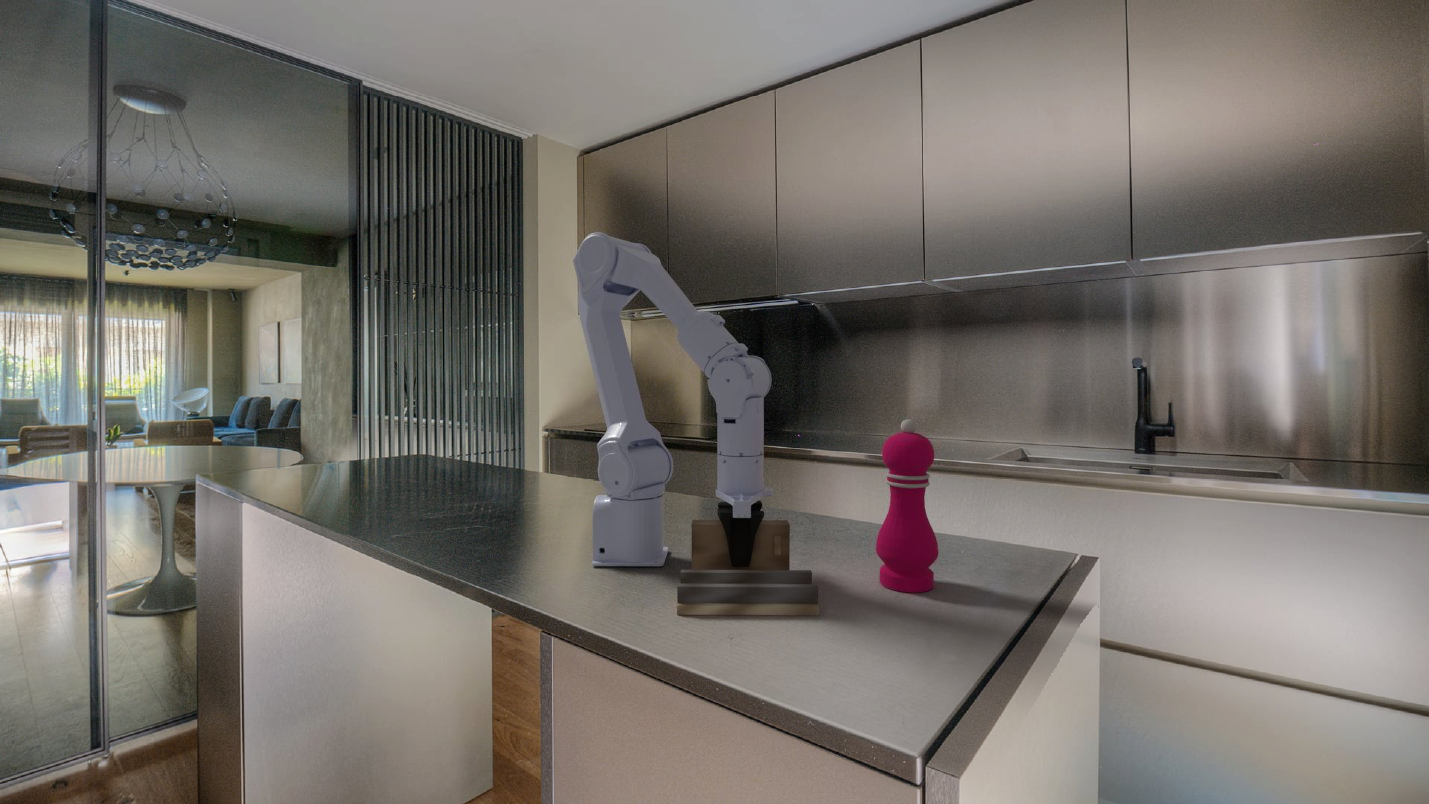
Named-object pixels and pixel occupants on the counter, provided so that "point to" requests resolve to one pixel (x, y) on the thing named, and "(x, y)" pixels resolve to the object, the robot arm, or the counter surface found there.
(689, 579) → the track board
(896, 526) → the pepper mill
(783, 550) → the door panel
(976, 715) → the counter surface
